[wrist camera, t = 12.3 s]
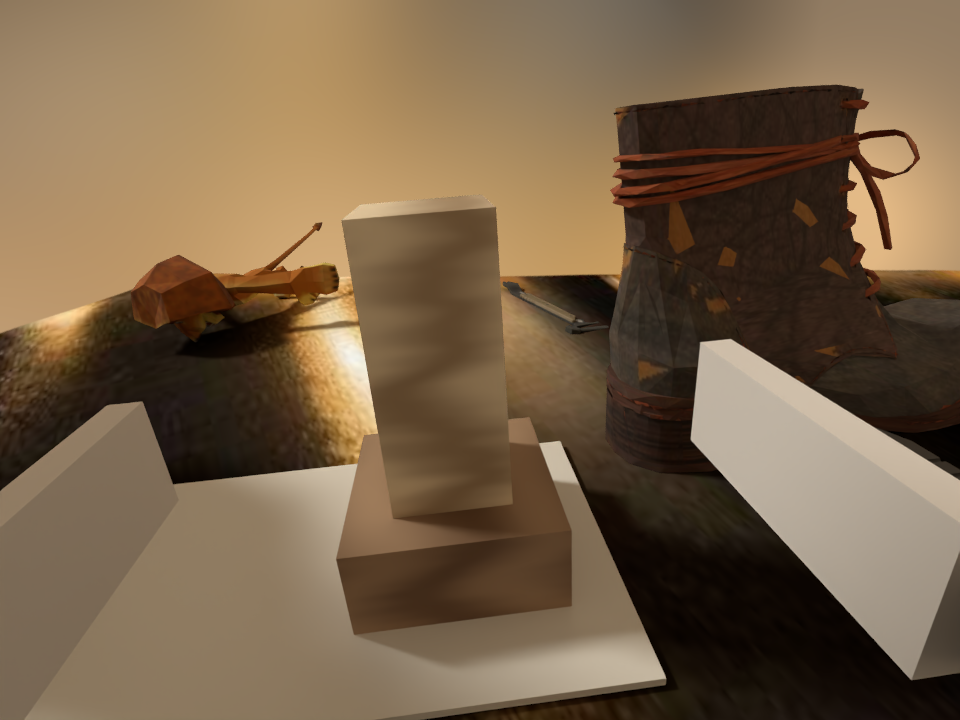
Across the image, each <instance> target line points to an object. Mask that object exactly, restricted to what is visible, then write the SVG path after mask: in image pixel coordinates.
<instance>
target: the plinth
mask: <svg viewBox="0 0 960 720" xmlns="http://www.w3.org/2000/svg"><path fill="white" fill-rule="evenodd" d="M508 428H509V446H510V463H511V481H512V498H513V504H511V505H503V506H494V507H486V508H477V509H469V510H461V511H452V512H444V513H435V514H427V515H419V516H410V517H402V518H393V516H392V510H391V505H390V499H389V493H388V487H387V481H386V476H385V470H384V464H383V458H382V452H381V447H380V441H379V435H378V434H371V435H364V438H363V442H362V447H361V451H360V456H359V460H358V464H357V469H356V473H355V478H354V482H353V486H352V491H351V495H350V500H349V504H348V508H347V513H346V517H345V522H344V526H343V530H342V535H341V539H340V544H339V548H338V552H337V557H336V561H337V566H338V570H339V574H340V578H341V583H342V587H343V591H344V595H345V600H346V604H347V608H348V612H349V617H350V621H351V625H352V629H353V634H354V635H357V634H364V633H372V632H379V631H387V630H395V629H402V628H410V627H417V626H425V625H433V624H440V623H448V622H455V621H463V620H471V619H478V618H486V617H493V616H501V615H509V614H516V613H524V612H531V611H539V610H547V609H554V608H562V607H570V606H572V530H571V527H570V524H569V522H568V519H567V516H566V514H565V511H564V508H563V506H562V503H561V500H560V498H559V495H558V492H557V490H556V487H555V484H554V482H553V479H552V476H551V474H550V471H549V468H548V466H547V463H546V460H545V458H544V455H543V452H542V450H541V447H540V444H539V442H538V439H537V436H536V434H535V431H534V428H533V426H532V423H531V420H530V418H529V417H527V418H518V419H509V420H508Z"/></svg>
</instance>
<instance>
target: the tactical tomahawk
mask: <svg viewBox="0 0 960 720" xmlns="http://www.w3.org/2000/svg"><path fill="white" fill-rule="evenodd" d="M503 286H505V287H507V288H508V289H509V291H510V293H511V294H512V295H514V296H516V297H518V298H520V299H522V300H524V301H525V302H527V303H530V304H532V305H534V306H536V307H538V308H540V309H542V310H544V311H546V312H548V313H550V314H552V315H554V316H556V317H558V318H560V319H562V320H564V321H566V322H568V323H570V324H572V325H573V326H570V325H569V326H566V331H567V332H568V333H570V334H580V333H581V332H587V331H594V330H600V329H605V328H609V327H607V326H596V327H587V328H582V329H581V328H579V327H583V326H587V325H591V324H595V323H599V322H593V323H586V322H584V320H583V319H575V318H576V317H575V316H574V315H571V314H570V313H568V312H566V311H564V310H562V309H560V308H558V307H556V306H554V305H552V304H550V303H548V302H546V301H544V300H542V299H540V298H537V297H536V296H534V295H532V294H526V293H524V292H523V291H522V290H521V288H520V286H519V285H518V283H513V282H507V283H506V282H503Z"/></svg>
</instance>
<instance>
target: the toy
mask: <svg viewBox="0 0 960 720" xmlns="http://www.w3.org/2000/svg"><path fill="white" fill-rule="evenodd" d="M321 226H322V223H316V224H315V225H314V226H313V229H312V230H311V231H310V232H309V233H308V234H307V235H306V236H304V237H303V238H302V239H301V240H299V241H298V242H297V243H296V244H295V245H293V246H292V247H291V248H290V249H288V250H287V251H286V252H285V253H283V254H282V255H281V256H280V257H279V258H277V259H276V260H275V261H273V262H272V263H270V264H269V265H267V266H266V267H263V268H259V269H255V270H251V271H250V272H248V273H246V274H244V275H239V274H213V273H212V272H210V271H208V270H206V269H204V268H203V267H201V266H199V265H197V264H195V263H193V262H191V261H189V260H187V259H186V258H184V257H182V256H180V255H177V256H174V257H172V258H170V259H167V260H165V261H163V262H160V263H158V264H156V265H155V266H154V267H153V268H152V269H151V270H150V271H149V272H148V273H147V274H146V275H145V276H144V277H143V278H142V279H140V280H139V282H138V283H137V284H136V286H135V287H134V289H133V290H132V291H131V298H132V306H133V315H134V320H137V321H139V322H141V323H144V324H146V325H149V326H151V327H154V328H156V329H157V328H158V327H160V326H161V325H163V324H166V323H167V324H173V323H174V324H175V325H176V326H177V327H178V328H179V329H180V331H181V332H182V333H183V334H185V335H186V336H188V337H189V338H190V339H191V340H193V341H194V342H197V341H198V340H199V339H200V336H201V333H202V332H203V330H204V329H205V328H206V327H207V326H212V325H215V324H217V323H218V322H219V321H221V320H222V319H223V318H225V317H224V316H223V315H222V314H221V313H220V312H218V311H227V310H231V309H232V308H233V307H234V306H237V305H241V304H245V303H246V302H248V301H249V300H251V299H252V298H254V297H255V296H256V295H257V294H258V293H269V294H274V295H275V296H276V297H279V298H290V294H295V295H296V297H297V299H298V301H299V302H300V303H302V304H303V305H309V304H312V303H314V301H315V299H316V298H317V297H318V296H319V294H320V293H321V294H326V295H327V294H330V293H333V292H336V291H338V287H339V276H338V273H337V270H336V267H335V265H333V264H329V263H322V264H318V265H314V266H310V267H303V266H301V267H300V269H297V270H294V271H287V270H286V269H285V268H284V267H283V266H281V267H278V268H276V270H275V271H272V270H273V269H274V268H275V267H276V266H277V265H278V264H279V263H280V262H281V261H283V260H284V259H285V258H286V257H287V256H288V255H289V254H290V253H292V251H294V250H295V249H296V248H297V247H298V246H299V245H300V244H301V243H303V241H305V240H306V239H307V238H308V237H309V236H310V235H311V234H312V233H313V232H314V231H315V230H317V231H319V230H320V228H321Z"/></svg>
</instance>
